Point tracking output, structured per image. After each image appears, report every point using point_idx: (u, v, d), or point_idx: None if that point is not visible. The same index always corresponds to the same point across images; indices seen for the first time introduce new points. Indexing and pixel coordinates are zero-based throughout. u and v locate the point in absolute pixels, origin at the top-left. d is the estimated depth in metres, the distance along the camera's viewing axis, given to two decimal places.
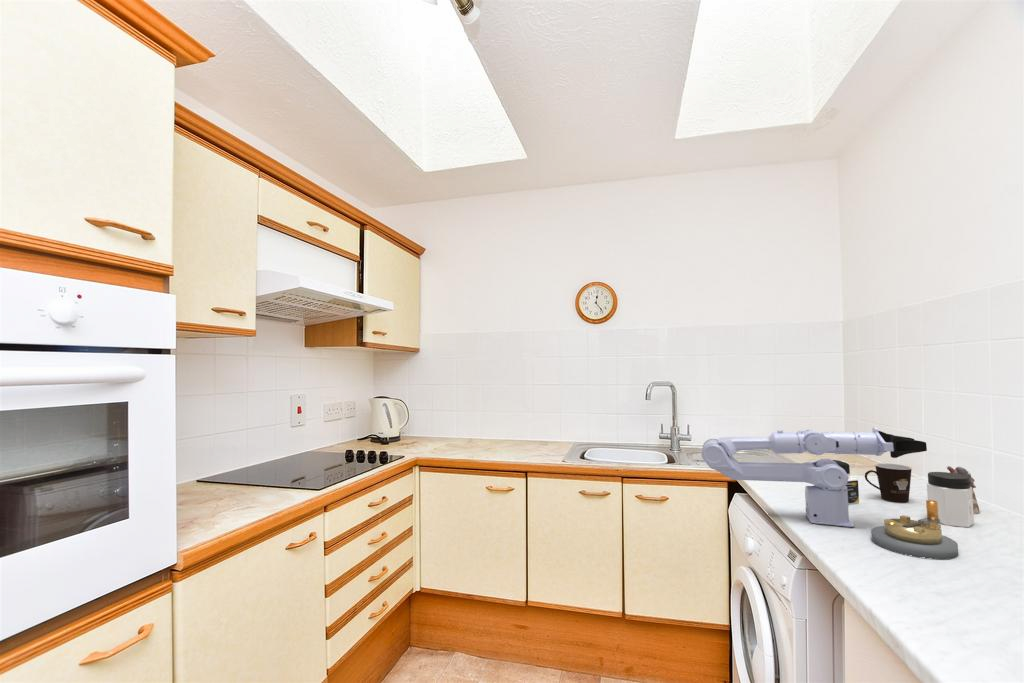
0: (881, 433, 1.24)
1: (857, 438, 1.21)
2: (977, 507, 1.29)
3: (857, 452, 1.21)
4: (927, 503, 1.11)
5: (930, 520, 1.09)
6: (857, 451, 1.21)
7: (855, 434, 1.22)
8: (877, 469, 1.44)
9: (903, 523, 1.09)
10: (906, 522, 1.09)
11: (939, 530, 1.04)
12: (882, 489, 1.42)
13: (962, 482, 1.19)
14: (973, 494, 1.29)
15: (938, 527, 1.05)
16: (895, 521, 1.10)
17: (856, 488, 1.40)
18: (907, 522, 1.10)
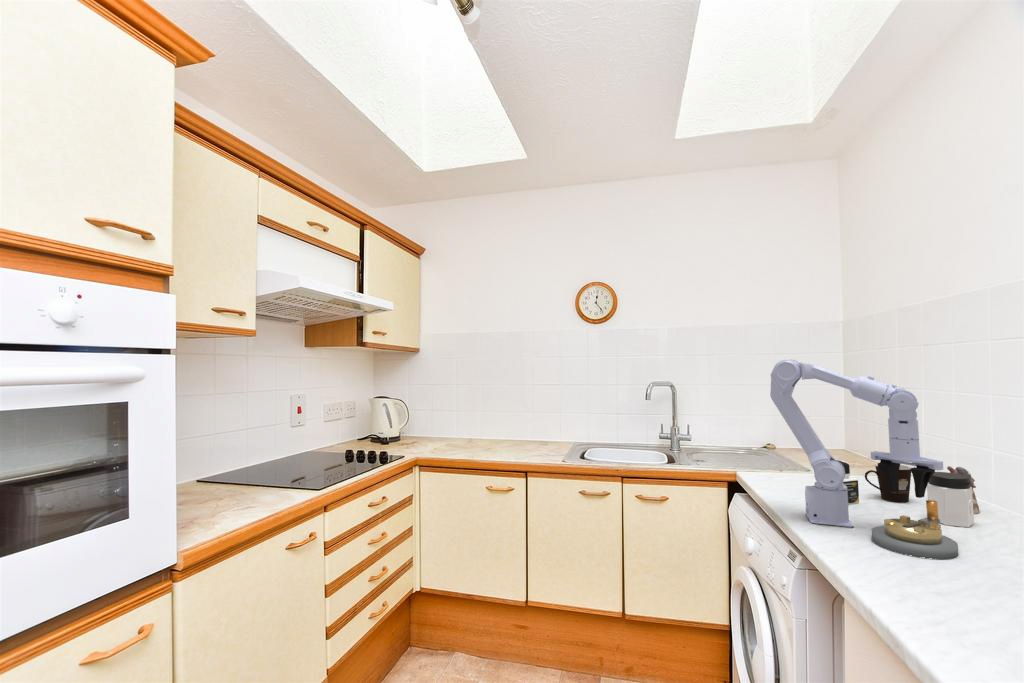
0: (899, 463, 1.19)
1: (918, 440, 1.14)
2: (977, 507, 1.29)
3: (906, 440, 1.14)
4: (927, 503, 1.11)
5: (930, 520, 1.09)
6: (908, 440, 1.13)
7: None
8: (877, 469, 1.44)
9: (903, 523, 1.09)
10: (906, 522, 1.09)
11: (939, 530, 1.04)
12: (882, 489, 1.42)
13: (962, 482, 1.19)
14: (973, 494, 1.29)
15: (938, 527, 1.05)
16: (895, 521, 1.10)
17: (856, 488, 1.40)
18: (907, 522, 1.10)
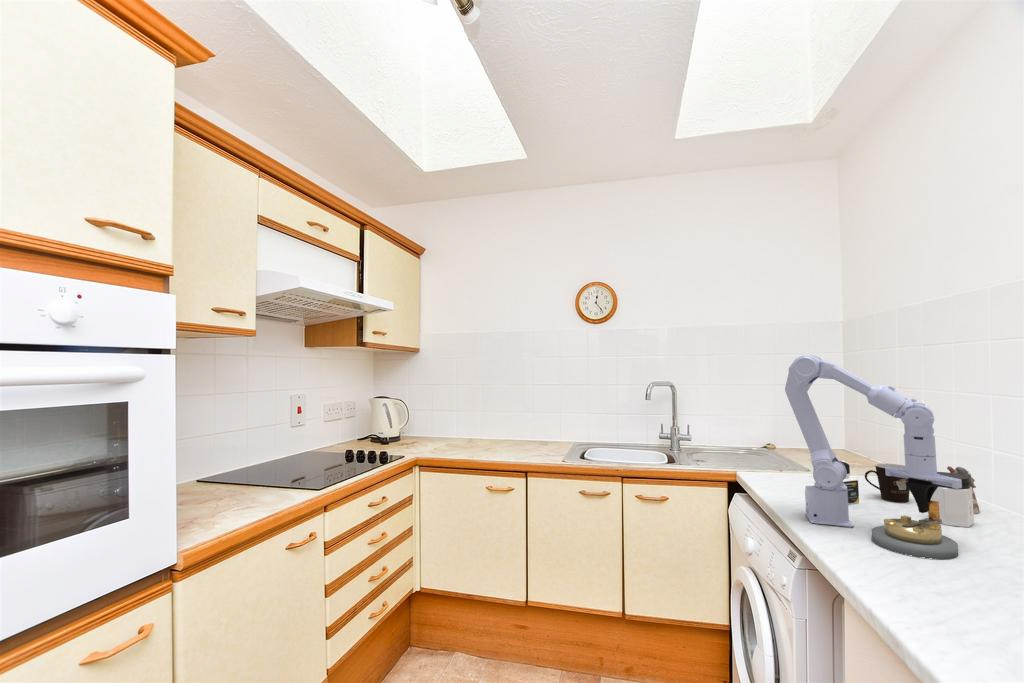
0: None
1: (935, 456, 1.11)
2: (977, 507, 1.29)
3: (923, 457, 1.10)
4: (928, 503, 1.11)
5: (931, 520, 1.09)
6: (925, 457, 1.10)
7: None
8: (877, 469, 1.44)
9: (903, 523, 1.09)
10: (906, 522, 1.09)
11: (939, 530, 1.04)
12: (882, 489, 1.42)
13: (962, 482, 1.19)
14: (973, 494, 1.29)
15: (938, 527, 1.05)
16: (895, 521, 1.11)
17: (856, 488, 1.40)
18: (908, 522, 1.10)
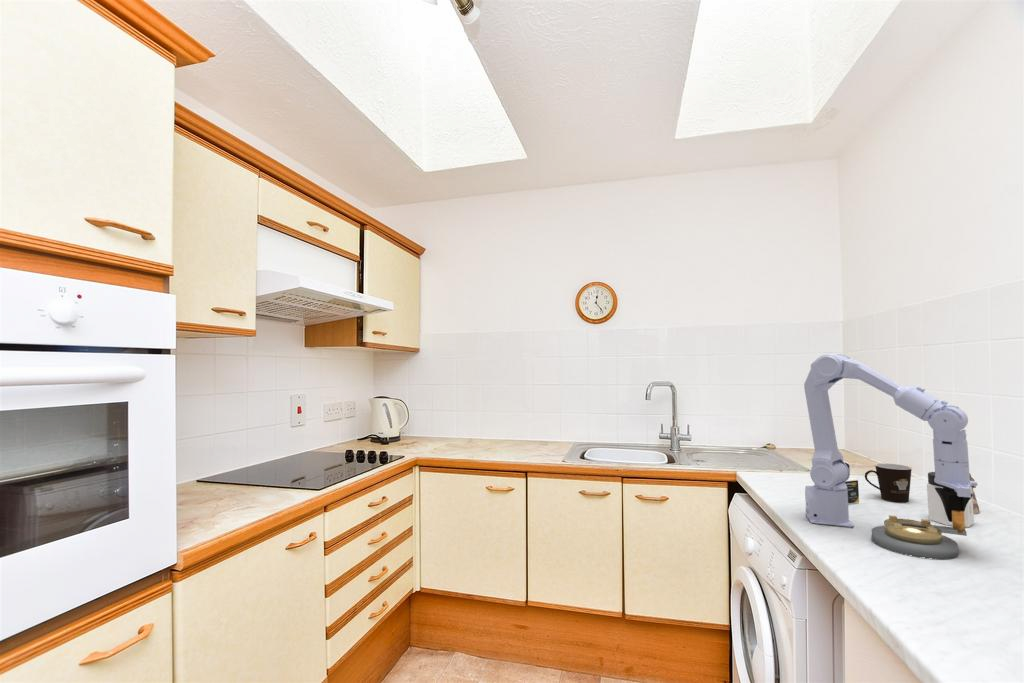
0: None
1: (963, 464, 1.03)
2: (977, 507, 1.29)
3: (941, 461, 1.05)
4: None
5: (947, 528, 1.04)
6: (943, 461, 1.05)
7: (967, 463, 1.04)
8: (877, 469, 1.44)
9: (910, 523, 1.09)
10: (915, 524, 1.08)
11: (927, 532, 1.03)
12: (882, 489, 1.42)
13: None
14: (973, 494, 1.29)
15: (931, 531, 1.03)
16: (908, 521, 1.10)
17: (856, 488, 1.40)
18: (921, 524, 1.08)
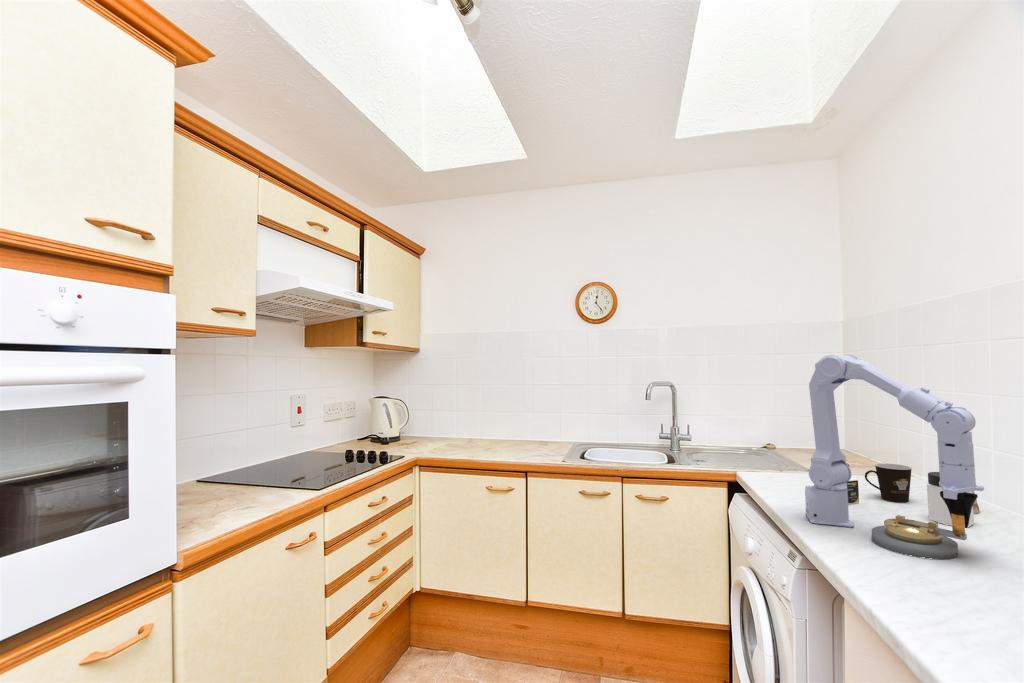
0: None
1: (962, 467, 1.00)
2: (977, 507, 1.29)
3: (941, 463, 1.04)
4: None
5: (946, 531, 1.02)
6: (942, 463, 1.03)
7: (969, 466, 1.00)
8: (877, 469, 1.44)
9: (914, 524, 1.08)
10: (919, 525, 1.08)
11: (915, 531, 1.04)
12: (882, 489, 1.42)
13: None
14: None
15: (921, 531, 1.03)
16: (916, 522, 1.09)
17: (856, 488, 1.40)
18: (925, 526, 1.07)
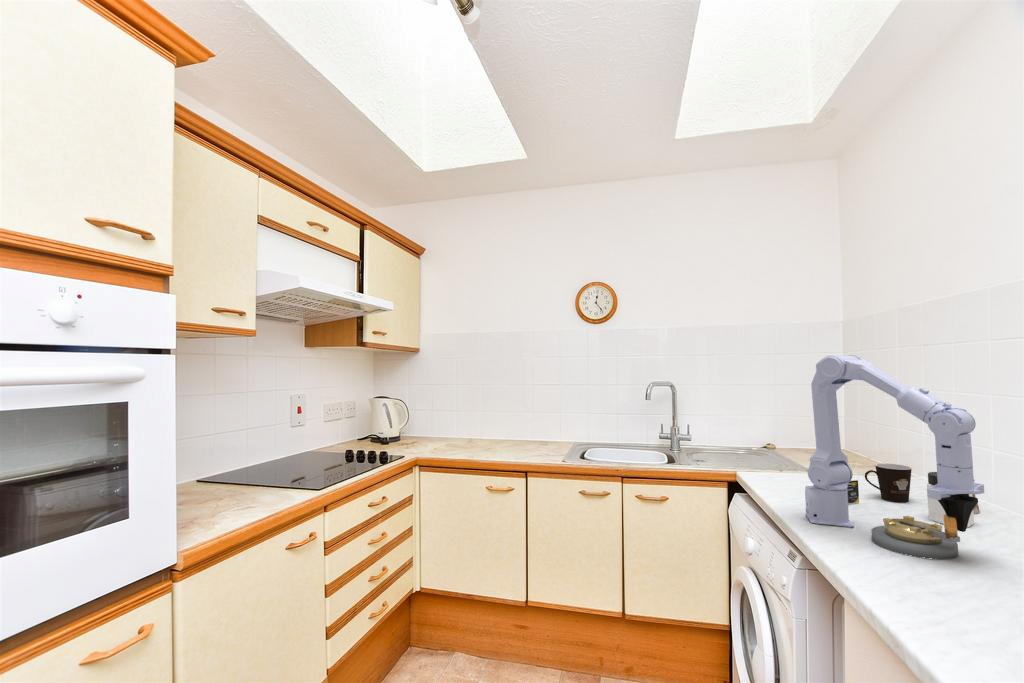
0: (969, 500, 0.99)
1: (954, 469, 0.99)
2: (977, 507, 1.29)
3: (937, 464, 1.03)
4: None
5: (939, 532, 1.01)
6: (937, 464, 1.02)
7: (962, 468, 0.98)
8: (877, 469, 1.44)
9: (917, 524, 1.08)
10: (921, 526, 1.07)
11: (905, 530, 1.05)
12: (882, 489, 1.42)
13: None
14: (973, 494, 1.29)
15: (911, 529, 1.04)
16: (922, 524, 1.08)
17: (856, 488, 1.40)
18: (927, 527, 1.06)
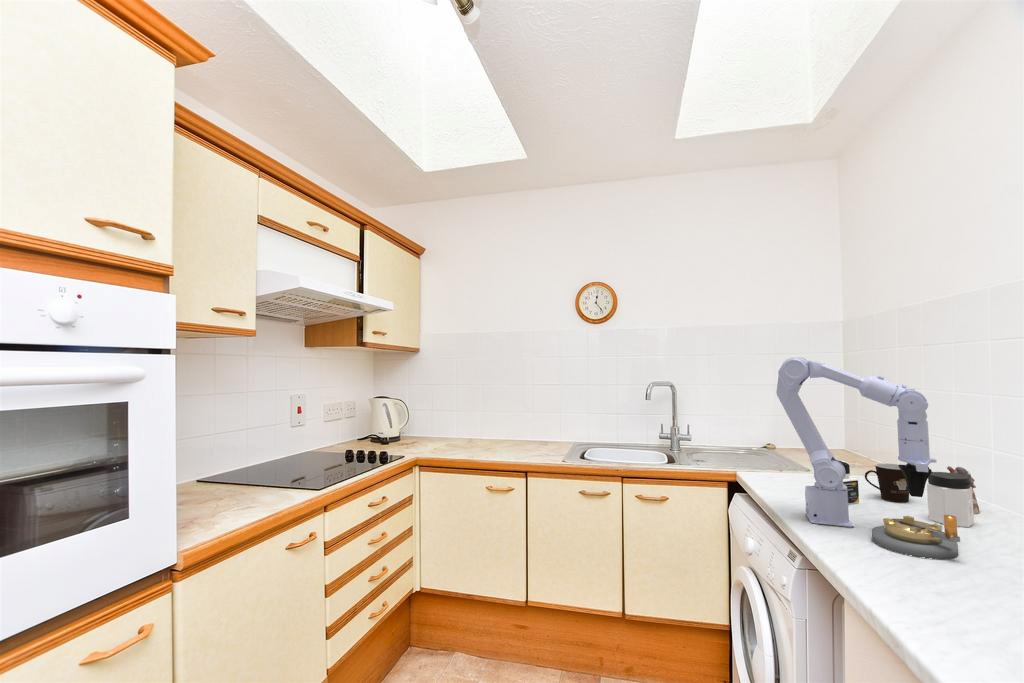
0: None
1: (923, 442, 1.12)
2: (977, 507, 1.29)
3: (903, 440, 1.14)
4: None
5: (939, 532, 1.01)
6: (905, 440, 1.14)
7: (927, 441, 1.12)
8: (877, 469, 1.44)
9: (917, 524, 1.08)
10: (921, 526, 1.07)
11: (905, 530, 1.05)
12: (882, 489, 1.42)
13: (962, 482, 1.19)
14: (973, 494, 1.29)
15: (911, 529, 1.04)
16: (922, 524, 1.08)
17: (856, 488, 1.40)
18: (927, 527, 1.06)
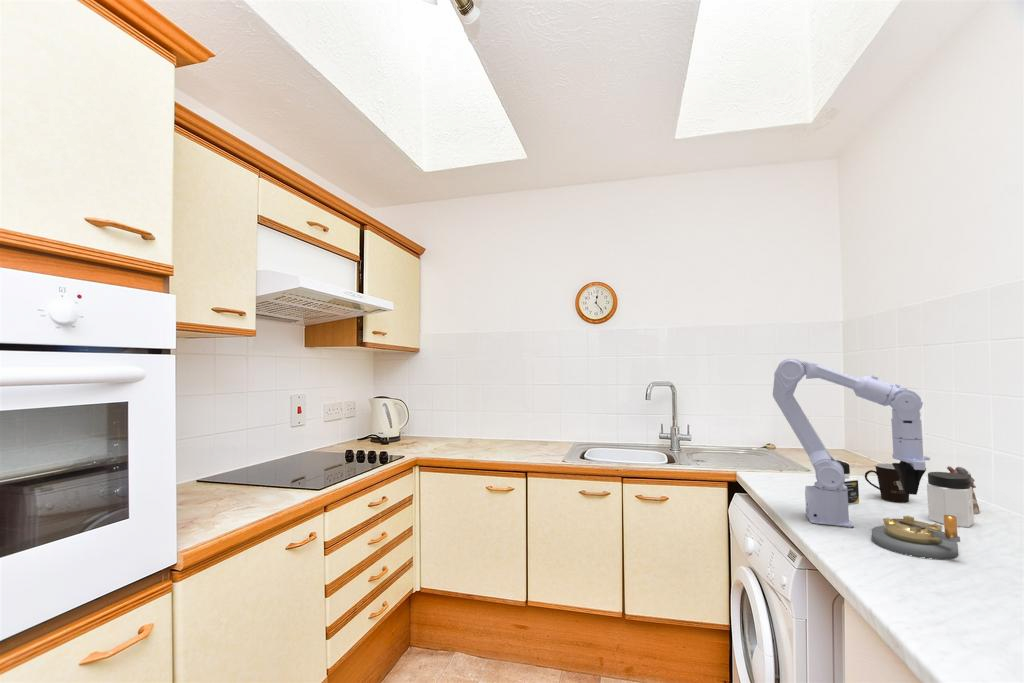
0: None
1: (918, 440, 1.14)
2: (977, 507, 1.29)
3: (898, 439, 1.16)
4: None
5: (939, 532, 1.01)
6: (900, 439, 1.15)
7: (921, 439, 1.14)
8: (877, 469, 1.44)
9: (917, 524, 1.08)
10: (921, 526, 1.07)
11: (905, 530, 1.05)
12: (882, 489, 1.42)
13: (962, 482, 1.19)
14: (973, 494, 1.29)
15: (911, 529, 1.04)
16: (922, 524, 1.08)
17: (856, 488, 1.40)
18: (927, 527, 1.06)
